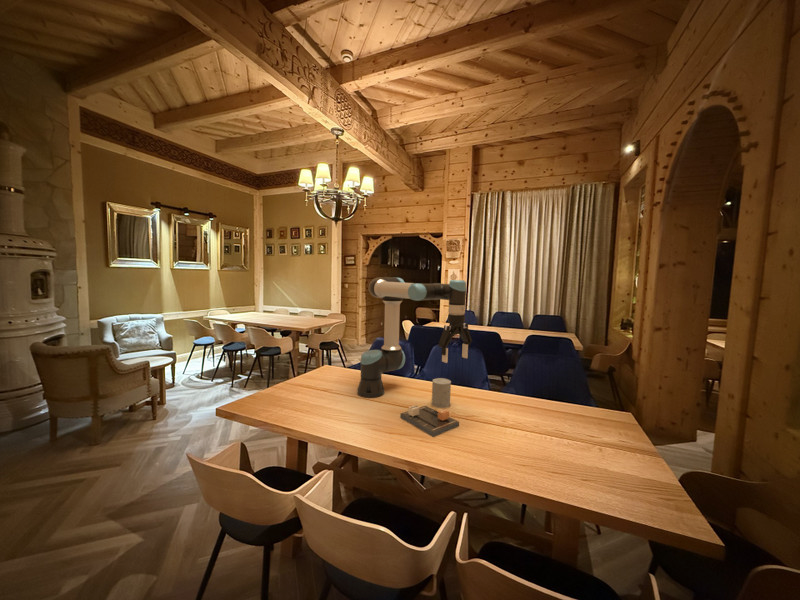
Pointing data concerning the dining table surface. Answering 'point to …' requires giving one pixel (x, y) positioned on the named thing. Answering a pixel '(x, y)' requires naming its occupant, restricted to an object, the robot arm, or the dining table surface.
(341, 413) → the dining table surface
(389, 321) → the robot arm
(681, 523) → the dining table surface
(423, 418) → the console
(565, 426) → the dining table surface
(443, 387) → the grey speckled cylinder
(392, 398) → the dining table surface
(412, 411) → the fader ivory
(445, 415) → the fader terracotta
